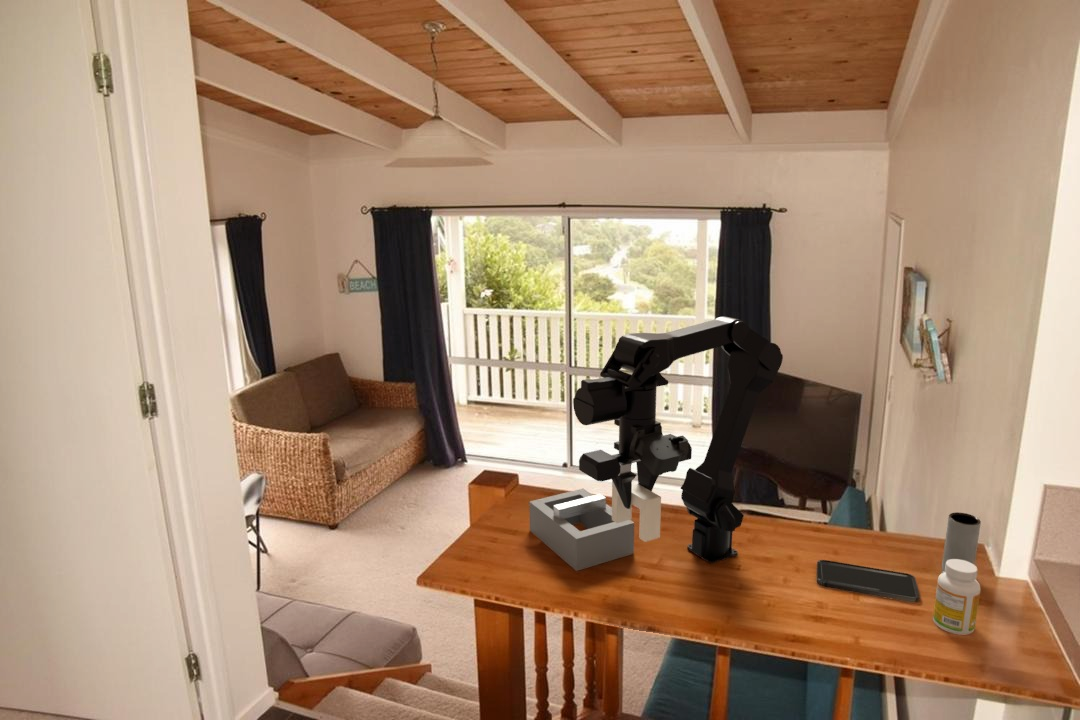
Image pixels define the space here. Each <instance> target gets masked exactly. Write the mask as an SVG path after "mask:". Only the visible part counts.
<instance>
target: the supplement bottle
mask: <svg viewBox="0 0 1080 720" xmlns="http://www.w3.org/2000/svg"><path fill="white" fill-rule="evenodd" d="M978 571H979V570H978V567H977V566H976V565H974V564H972V563H970V562H968V561H964V560H960V559H950V560H947V561H946V565H945V572H944V573H942V572H941V573H940V574H939V575H938V578H937V583H936V592H935V599H934V606H933V615H932V620H933V623H934V624H935V625H936V626H937V627H938V628H939V629H941V630H943V631H946V632H948V633H950V634H953V635H960V636H965V635H970V634H972V633H973V632H974V631H975V628H976V622H977V615H978V608H979V602H980V596H981V585H980V583H979V581H977V577H978Z"/></svg>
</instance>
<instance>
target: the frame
mask: <svg viewBox="0 0 1080 720" xmlns="http://www.w3.org/2000/svg"><path fill="white" fill-rule="evenodd" d="M590 496H594V495H593V494H592V493H591V492H589V491H588V490H586V489H584V488H579V489H575V490H572V491H571V490H570V491H567V492H563V493H560V494H559V493H558V494H554V495H550V496H547V497H542V498H539V499H533V500H530V501H529V504H528V506H529V531H530V532H531V533H532V534H533V535H534V536H535V537H537V538H538V539H539V540H540V541H541V542H542V543H543V544H545V545H546V546H547V547H548V548H550V550H552V552H554V553H555V554H556V555H557V556H559V557H560V558H561V559H562V560H563V561H564V562H565V563H566V564H568V565H569V566H570V567H571V568H572V569H573V570H575V572H579V571H580V570H584V569H588V568H590V567H594V566H598V565H601V564H604V563H607V562H610V561H614V560H616V559H618V560H619V559H620V558H625V557H627V556H630V555H633V554H634V552H635V551H634V550H635V522H634V521H633V520H632V519H631V520H627V521H624V522H620V523H616V522H614V521H613V520H612V506H610V505H609V504H608V503H606V508H603V509H600V510H596V511H592V512H588V513H584V514H580V515H577V516H573V517H569V518H565V519H561V520H558V519H557V518H556V517H555V516H554V505H558V504H562V503H566V502H570V501H574V500H578V499H582V498H586V497H590ZM576 524H580V525H582V526H584V527H585V528H586V529H584V530H579V529H578V528H577V527H576V526H574V525H576Z"/></svg>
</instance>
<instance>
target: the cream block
mask: <svg viewBox="0 0 1080 720" xmlns="http://www.w3.org/2000/svg"><path fill="white" fill-rule="evenodd" d="M611 481H612V480H611ZM632 506H633V507H636V508H637V509H639V523H638V524H639V527H638V528H639V530H638V539H640V540H641V541H643V542H644V543H646V542H650V541H652V540H653V541H654V540H656V539H659V538H661V515H662V513H661V511H662V510H661V509H662V496H660V495H659V494H657V493H656V492H654V491H653V490H652V491H650V490H648V489H646V488H644V487H643V486H641V485H639V484H638V482H636V481H634V480H632V491H631V506H630V509H627V508H625V507H624V505H623V502H622V500H621V498H620V496H619V493H618V491H617V489H616V487H615V484H614V482H613V481H612V482H611V507H612V520H613V521H614V522H616V523H620V522H624V521H627V520H631V521H632V512H633V511H632Z"/></svg>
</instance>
